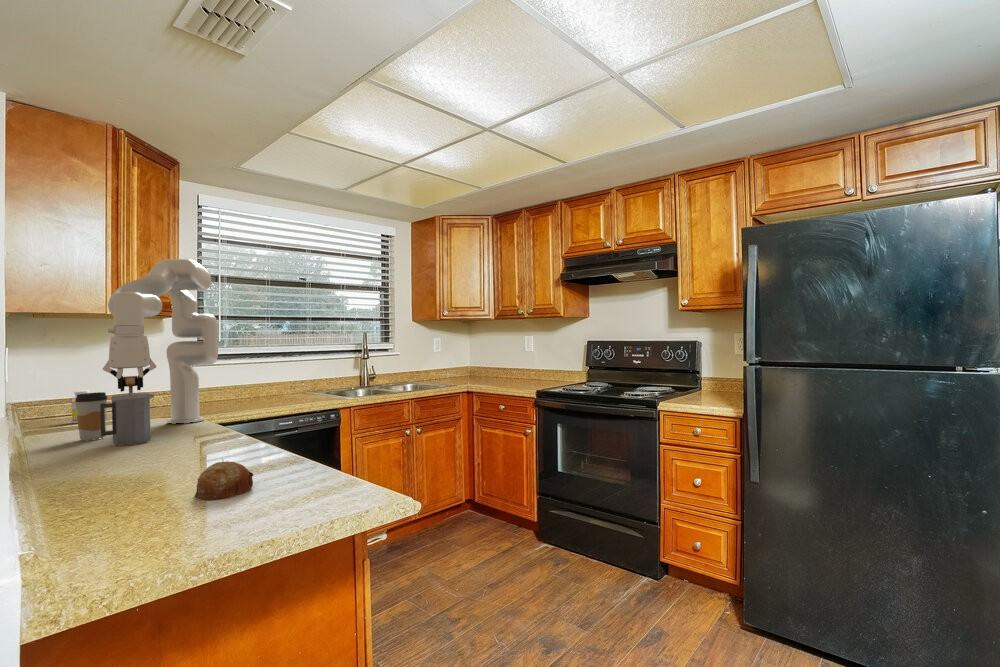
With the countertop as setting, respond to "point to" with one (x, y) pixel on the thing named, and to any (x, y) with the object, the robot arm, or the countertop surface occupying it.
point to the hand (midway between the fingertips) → (130, 390)
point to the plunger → (130, 382)
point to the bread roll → (223, 481)
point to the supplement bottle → (74, 408)
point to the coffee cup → (89, 414)
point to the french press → (128, 418)
